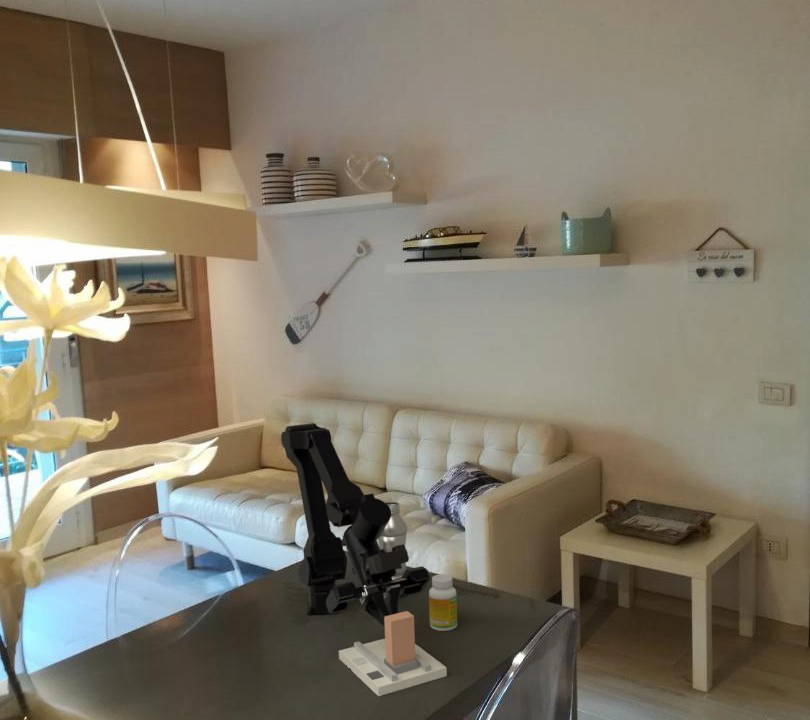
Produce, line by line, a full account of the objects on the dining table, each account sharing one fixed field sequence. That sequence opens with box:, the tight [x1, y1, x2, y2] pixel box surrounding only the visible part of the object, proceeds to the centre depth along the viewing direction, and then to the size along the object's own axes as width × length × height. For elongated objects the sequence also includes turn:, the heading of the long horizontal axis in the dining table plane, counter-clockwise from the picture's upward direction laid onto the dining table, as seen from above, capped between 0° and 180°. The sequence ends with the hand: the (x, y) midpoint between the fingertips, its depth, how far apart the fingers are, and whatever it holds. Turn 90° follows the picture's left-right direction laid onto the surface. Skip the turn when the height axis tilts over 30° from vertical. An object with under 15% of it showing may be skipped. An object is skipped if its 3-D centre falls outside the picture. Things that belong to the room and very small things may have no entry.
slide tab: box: [384, 610, 418, 674], centre depth 139 cm, size 4×4×9 cm
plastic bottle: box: [377, 501, 408, 580], centre depth 175 cm, size 6×7×20 cm
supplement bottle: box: [428, 573, 458, 632], centre depth 158 cm, size 5×5×10 cm
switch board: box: [338, 638, 448, 697], centre depth 142 cm, size 16×13×2 cm
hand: (395, 633), depth 140 cm, fingers closed, pressing on slide tab
